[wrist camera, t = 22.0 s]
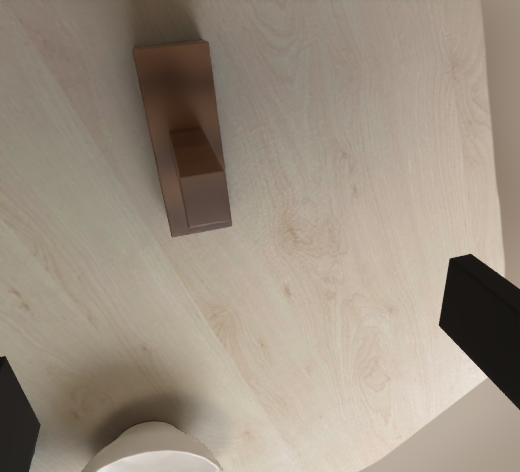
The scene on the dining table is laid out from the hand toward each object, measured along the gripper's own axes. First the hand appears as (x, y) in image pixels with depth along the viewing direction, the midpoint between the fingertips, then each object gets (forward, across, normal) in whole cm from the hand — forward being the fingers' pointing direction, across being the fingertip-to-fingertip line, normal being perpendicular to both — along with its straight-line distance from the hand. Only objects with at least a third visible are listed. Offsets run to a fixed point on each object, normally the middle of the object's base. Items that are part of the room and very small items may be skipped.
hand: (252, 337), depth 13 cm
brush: (+25, 0, 0) cm, 25 cm away
